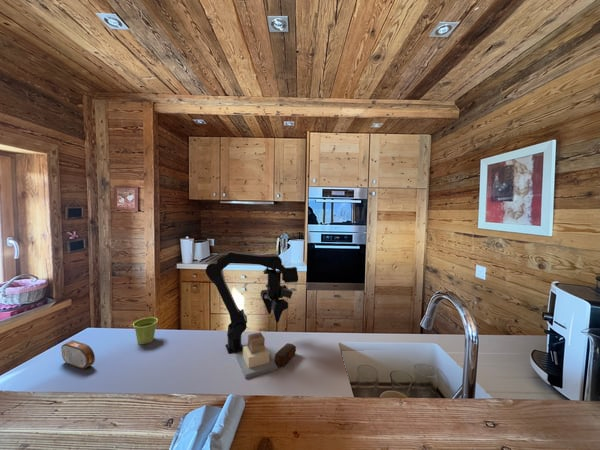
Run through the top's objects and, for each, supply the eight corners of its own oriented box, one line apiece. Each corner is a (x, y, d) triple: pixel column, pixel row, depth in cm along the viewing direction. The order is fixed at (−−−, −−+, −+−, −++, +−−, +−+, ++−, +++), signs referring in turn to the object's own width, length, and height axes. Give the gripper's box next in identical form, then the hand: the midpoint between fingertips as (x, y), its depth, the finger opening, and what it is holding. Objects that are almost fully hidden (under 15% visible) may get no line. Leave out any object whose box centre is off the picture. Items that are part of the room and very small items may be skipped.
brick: (282, 369, 94) (283, 357, 93) (273, 365, 95) (274, 353, 95) (296, 354, 103) (296, 344, 103) (287, 352, 105) (288, 341, 105)
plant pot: (162, 337, 114) (162, 318, 113) (145, 348, 104) (145, 328, 104) (145, 334, 116) (145, 316, 115) (127, 345, 107) (127, 325, 106)
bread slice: (96, 367, 91) (95, 345, 91) (86, 372, 88) (85, 349, 88) (69, 358, 96) (69, 337, 96) (59, 363, 93) (59, 341, 93)
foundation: (235, 357, 100) (236, 343, 99) (264, 350, 105) (264, 337, 105) (245, 378, 87) (245, 363, 87) (276, 369, 93) (277, 354, 93)
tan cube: (247, 347, 97) (248, 334, 97) (260, 344, 99) (260, 332, 99) (251, 353, 93) (251, 341, 92) (264, 350, 95) (264, 338, 95)
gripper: (300, 287, 104) (299, 323, 105) (282, 276, 121) (281, 307, 122) (275, 290, 99) (274, 328, 100) (260, 278, 115) (259, 311, 116)
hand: (273, 317), depth 110 cm, fingers open, 9 cm apart
